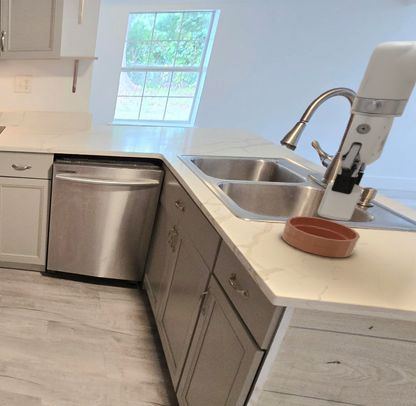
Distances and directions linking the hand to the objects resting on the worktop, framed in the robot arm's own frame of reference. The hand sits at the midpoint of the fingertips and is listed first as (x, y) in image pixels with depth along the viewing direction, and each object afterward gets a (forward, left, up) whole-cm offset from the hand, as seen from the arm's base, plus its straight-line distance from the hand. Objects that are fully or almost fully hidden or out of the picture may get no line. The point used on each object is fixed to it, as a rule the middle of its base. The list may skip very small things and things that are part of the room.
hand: (344, 189), depth 82 cm
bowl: (+3, -11, -19) cm, 22 cm away
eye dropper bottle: (0, 0, -7) cm, 7 cm away
